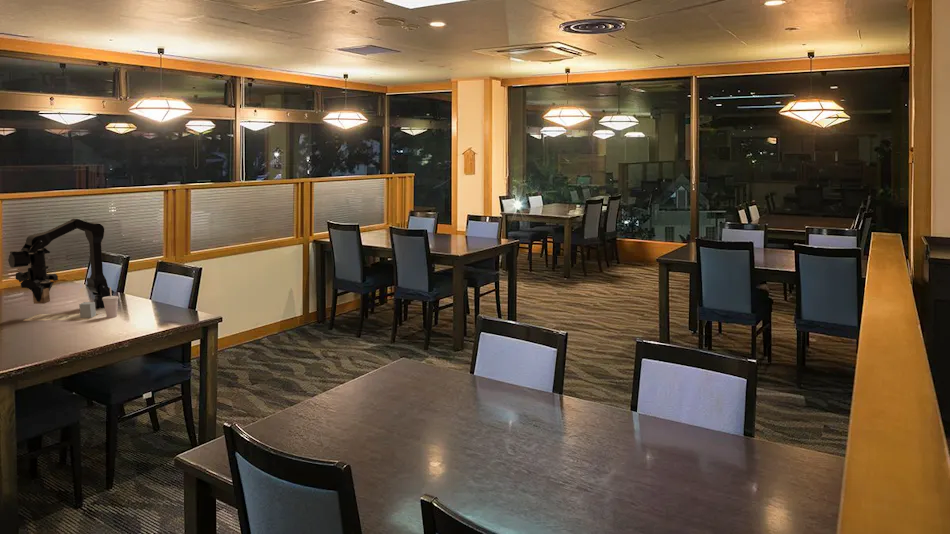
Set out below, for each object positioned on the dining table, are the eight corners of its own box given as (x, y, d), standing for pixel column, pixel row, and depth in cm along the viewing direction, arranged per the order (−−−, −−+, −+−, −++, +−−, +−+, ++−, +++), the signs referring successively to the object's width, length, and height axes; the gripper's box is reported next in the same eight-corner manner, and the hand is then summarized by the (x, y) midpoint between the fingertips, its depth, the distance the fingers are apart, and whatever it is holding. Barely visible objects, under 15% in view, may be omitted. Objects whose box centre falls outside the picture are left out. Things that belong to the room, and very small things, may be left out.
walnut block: (50, 301, 312) (48, 287, 311) (44, 303, 307) (43, 289, 306) (39, 301, 311) (38, 287, 310) (33, 303, 307) (32, 289, 306)
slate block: (96, 315, 314) (94, 302, 313) (91, 317, 309) (90, 304, 308) (85, 315, 313) (84, 302, 312) (80, 317, 309) (79, 304, 308)
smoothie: (123, 317, 314) (120, 286, 312) (114, 321, 308) (112, 289, 306) (109, 317, 315) (107, 285, 312) (100, 320, 308) (97, 288, 306)
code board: (100, 315, 317) (100, 313, 317) (87, 322, 306) (87, 319, 305) (37, 316, 316) (37, 314, 316) (22, 322, 304) (22, 320, 304)
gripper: (30, 261, 315) (34, 296, 318) (5, 268, 297) (9, 305, 299) (56, 261, 316) (60, 295, 318) (33, 268, 297) (37, 304, 300)
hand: (41, 300), depth 309 cm, fingers closed on walnut block, 4 cm apart
